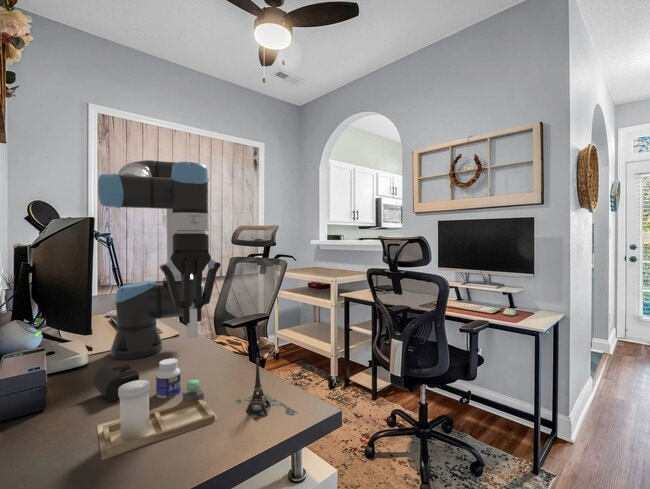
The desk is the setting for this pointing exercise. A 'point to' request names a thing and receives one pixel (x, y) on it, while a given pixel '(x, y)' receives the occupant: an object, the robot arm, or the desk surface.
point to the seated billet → (134, 409)
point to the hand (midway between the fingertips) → (192, 336)
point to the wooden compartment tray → (159, 424)
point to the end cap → (113, 380)
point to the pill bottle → (168, 379)
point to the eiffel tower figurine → (262, 400)
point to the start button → (193, 385)
